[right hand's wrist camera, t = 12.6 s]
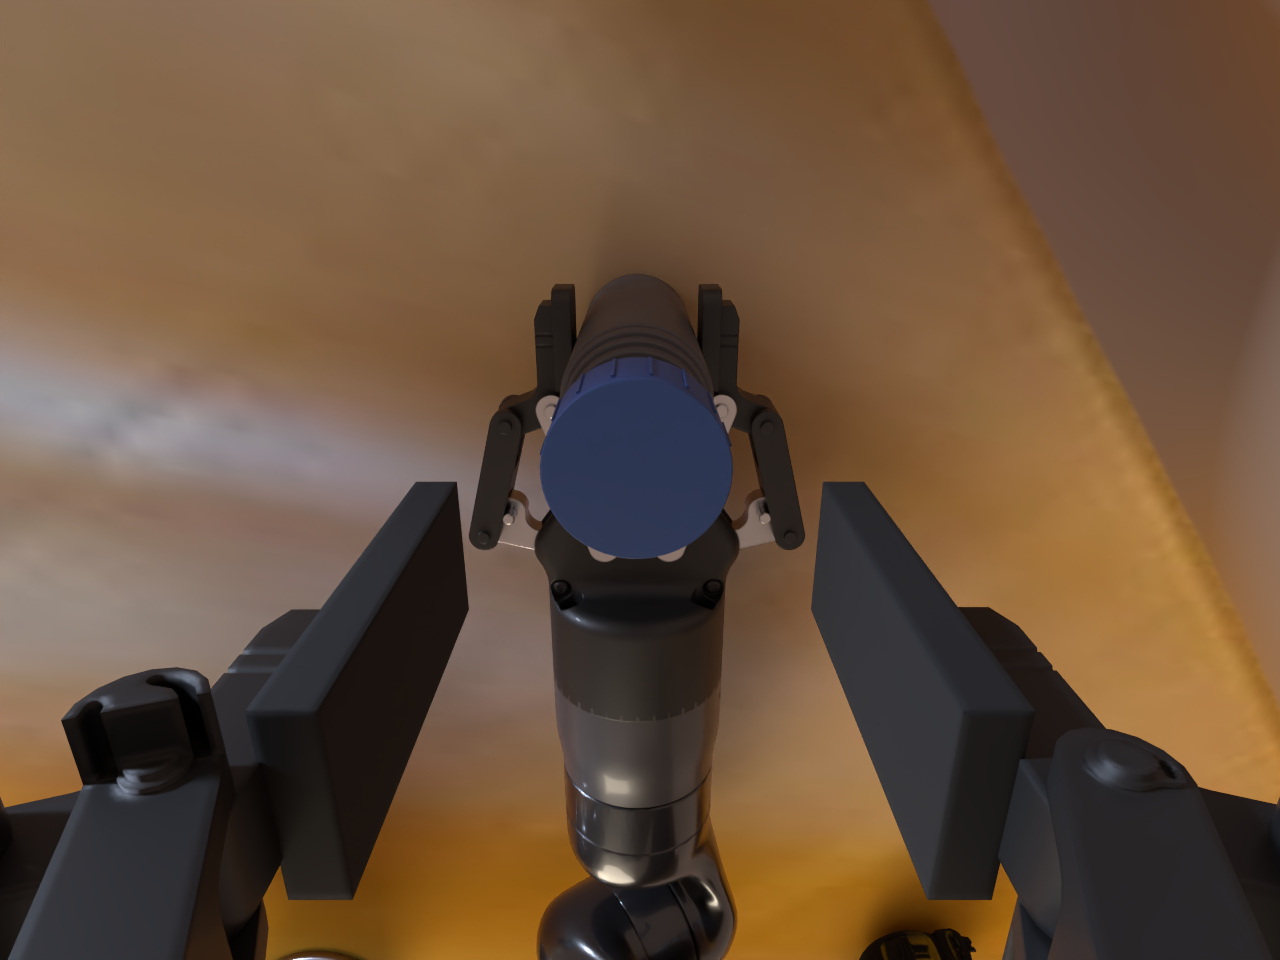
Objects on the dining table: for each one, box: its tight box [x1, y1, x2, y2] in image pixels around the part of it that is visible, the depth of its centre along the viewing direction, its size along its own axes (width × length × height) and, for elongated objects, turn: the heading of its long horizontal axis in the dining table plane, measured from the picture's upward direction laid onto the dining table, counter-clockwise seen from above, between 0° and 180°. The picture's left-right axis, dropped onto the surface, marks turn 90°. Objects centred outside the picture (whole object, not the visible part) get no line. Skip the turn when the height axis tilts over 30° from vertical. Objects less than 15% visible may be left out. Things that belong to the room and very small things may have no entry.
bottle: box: [560, 274, 714, 401], centre depth 27 cm, size 5×5×18 cm
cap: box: [540, 357, 733, 559], centre depth 19 cm, size 5×4×2 cm
